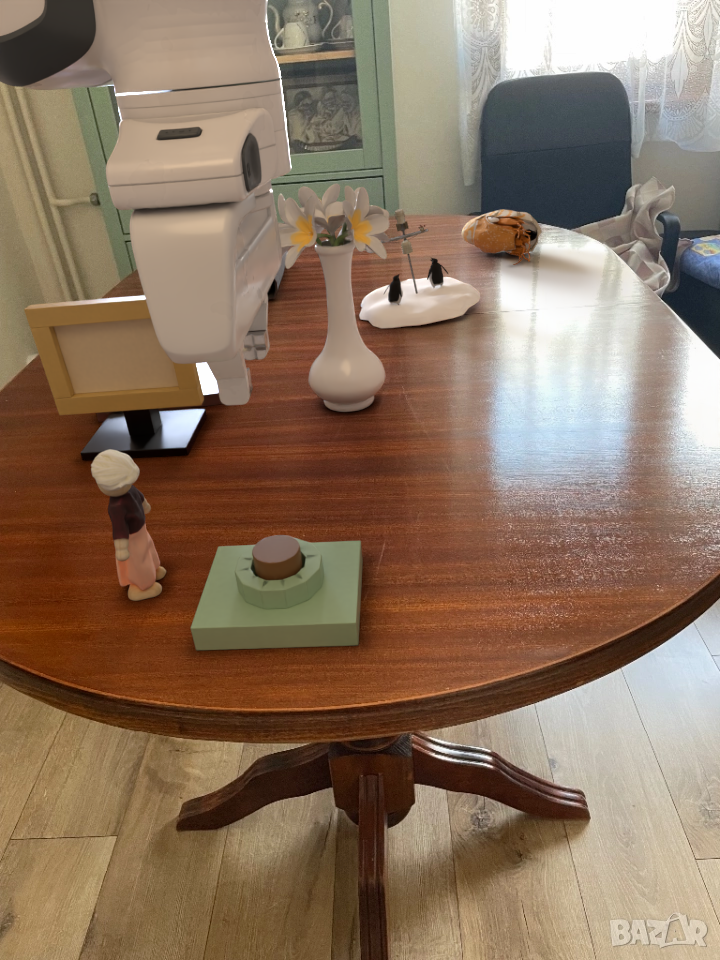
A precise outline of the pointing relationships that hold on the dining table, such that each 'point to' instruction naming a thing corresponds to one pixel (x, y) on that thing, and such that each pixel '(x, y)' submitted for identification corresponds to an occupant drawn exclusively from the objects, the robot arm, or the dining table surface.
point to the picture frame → (108, 357)
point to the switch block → (281, 600)
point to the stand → (147, 433)
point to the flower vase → (338, 287)
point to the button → (277, 557)
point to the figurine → (417, 293)
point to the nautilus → (503, 232)
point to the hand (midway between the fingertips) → (247, 376)
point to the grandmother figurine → (129, 524)
